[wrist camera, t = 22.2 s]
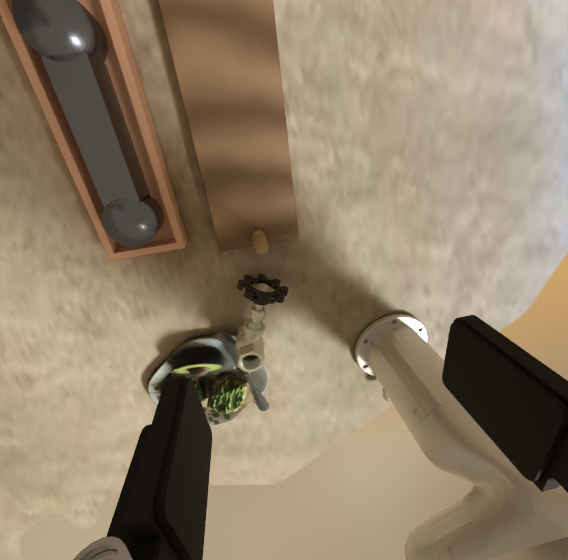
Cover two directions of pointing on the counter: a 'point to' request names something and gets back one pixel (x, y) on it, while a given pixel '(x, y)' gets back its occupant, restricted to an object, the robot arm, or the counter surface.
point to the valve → (256, 320)
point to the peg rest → (235, 116)
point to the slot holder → (137, 118)
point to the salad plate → (213, 377)
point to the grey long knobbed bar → (92, 112)
